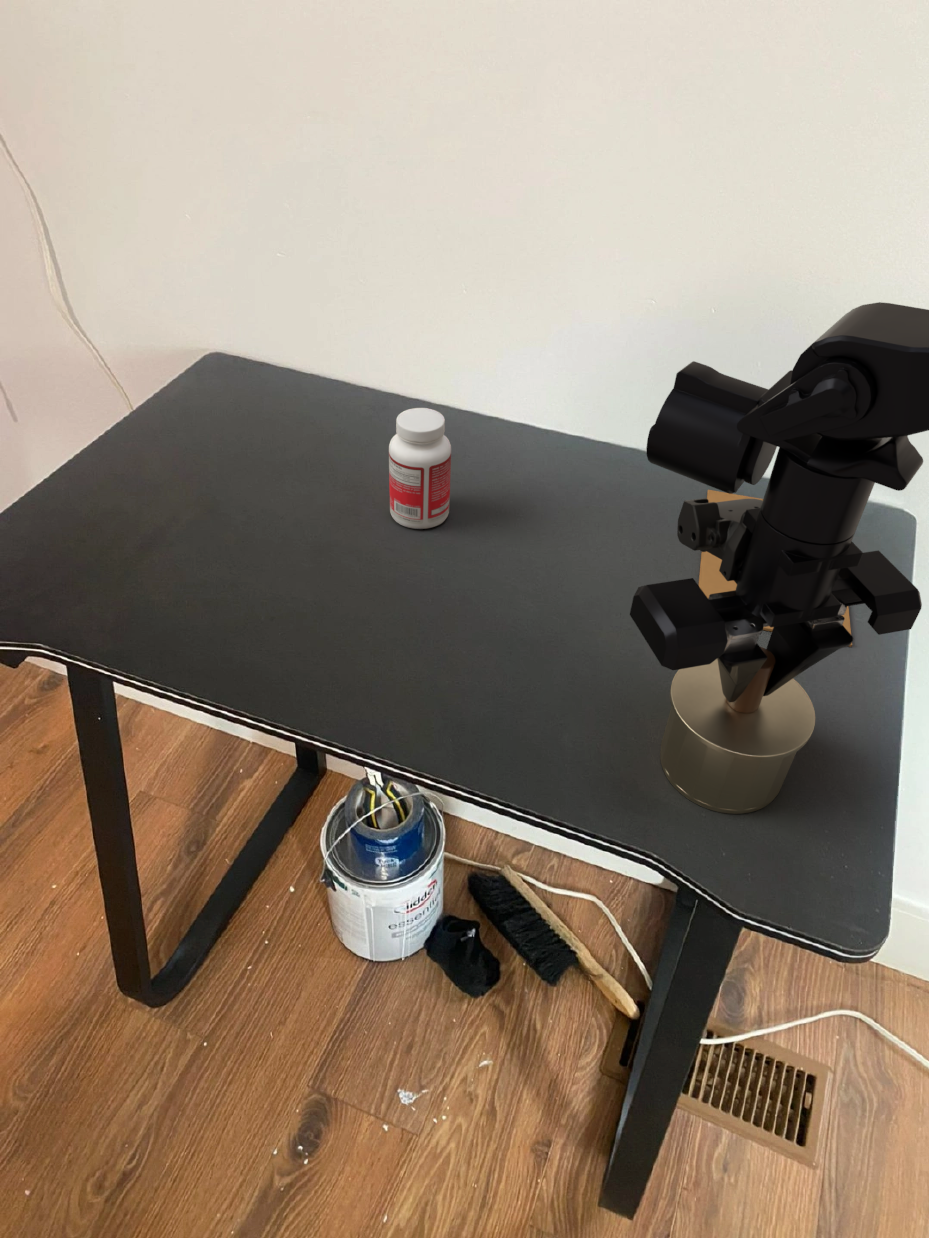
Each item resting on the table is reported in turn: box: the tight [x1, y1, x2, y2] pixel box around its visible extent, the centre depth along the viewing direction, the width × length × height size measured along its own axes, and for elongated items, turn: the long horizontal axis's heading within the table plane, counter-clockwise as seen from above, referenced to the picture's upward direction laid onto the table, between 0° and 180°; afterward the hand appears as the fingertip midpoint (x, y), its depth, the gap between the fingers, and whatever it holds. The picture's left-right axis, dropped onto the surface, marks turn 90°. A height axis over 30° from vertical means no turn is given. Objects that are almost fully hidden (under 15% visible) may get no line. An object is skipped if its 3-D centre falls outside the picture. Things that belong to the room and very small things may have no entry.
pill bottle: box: [388, 407, 452, 530], centre depth 92 cm, size 6×6×11 cm
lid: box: [669, 646, 816, 761], centre depth 66 cm, size 10×10×6 cm
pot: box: [659, 706, 797, 815], centre depth 70 cm, size 9×9×6 cm
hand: (745, 694), depth 67 cm, fingers closed on lid, 2 cm apart
